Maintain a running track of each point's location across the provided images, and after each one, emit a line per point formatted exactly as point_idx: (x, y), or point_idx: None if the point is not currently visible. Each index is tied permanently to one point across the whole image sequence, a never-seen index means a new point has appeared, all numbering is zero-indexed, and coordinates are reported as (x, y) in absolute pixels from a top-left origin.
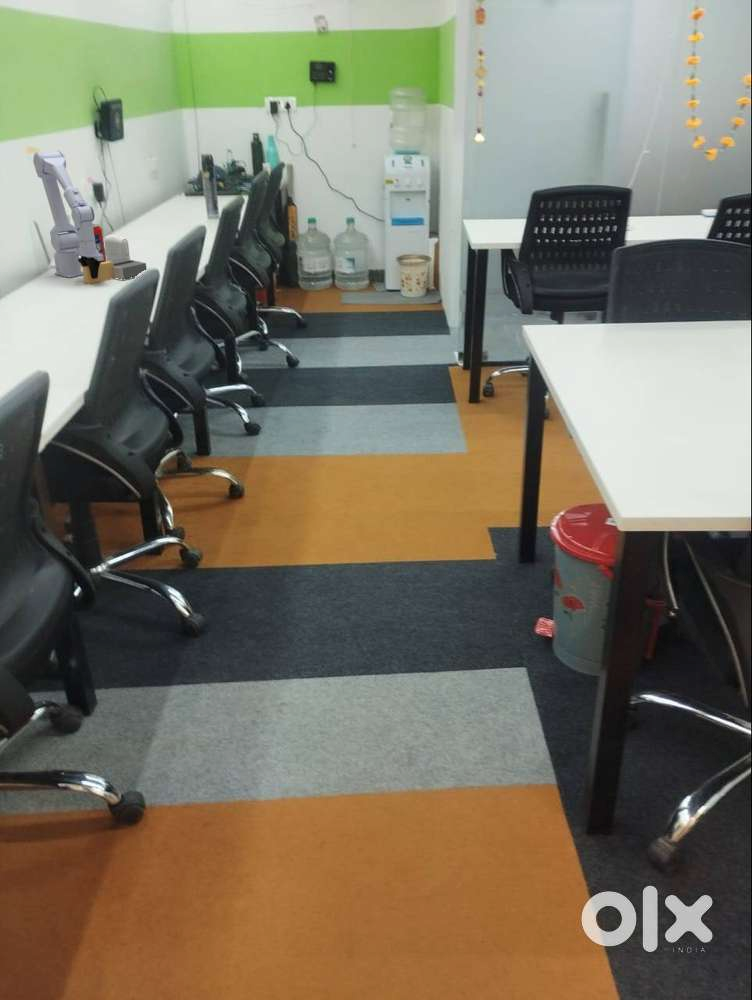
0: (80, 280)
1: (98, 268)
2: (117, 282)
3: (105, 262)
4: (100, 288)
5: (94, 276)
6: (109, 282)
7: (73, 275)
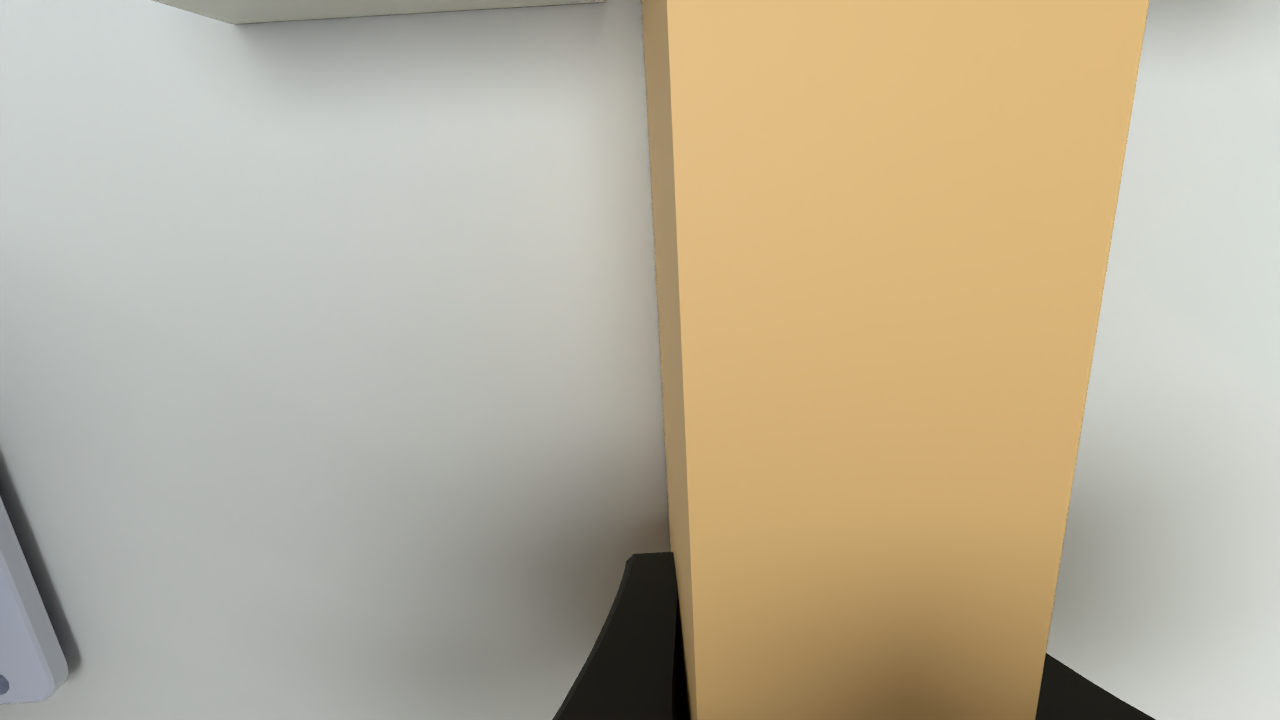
0: (424, 627)
1: (1118, 714)
2: (1249, 192)
3: (862, 87)
4: (1271, 696)
5: None
6: None
7: (15, 601)
